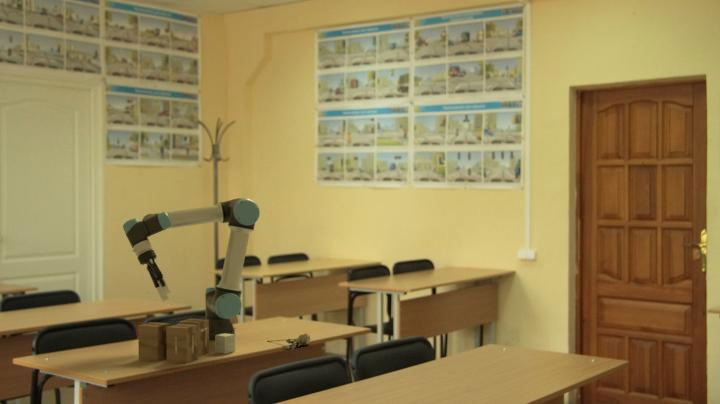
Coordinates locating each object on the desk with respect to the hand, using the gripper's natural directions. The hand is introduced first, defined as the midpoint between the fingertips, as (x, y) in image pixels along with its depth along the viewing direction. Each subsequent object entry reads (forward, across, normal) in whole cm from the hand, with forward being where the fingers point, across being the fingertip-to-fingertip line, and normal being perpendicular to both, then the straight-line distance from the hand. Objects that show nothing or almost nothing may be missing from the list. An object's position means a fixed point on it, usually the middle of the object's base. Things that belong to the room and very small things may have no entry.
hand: (166, 297), depth 388 cm
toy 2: (+41, -4, +36) cm, 55 cm away
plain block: (+23, +10, -16) cm, 30 cm away
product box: (+32, +3, +11) cm, 35 cm away
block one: (+29, +17, -8) cm, 35 cm away
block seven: (+28, +5, -1) cm, 28 cm away
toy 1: (+16, -59, +26) cm, 66 cm away
